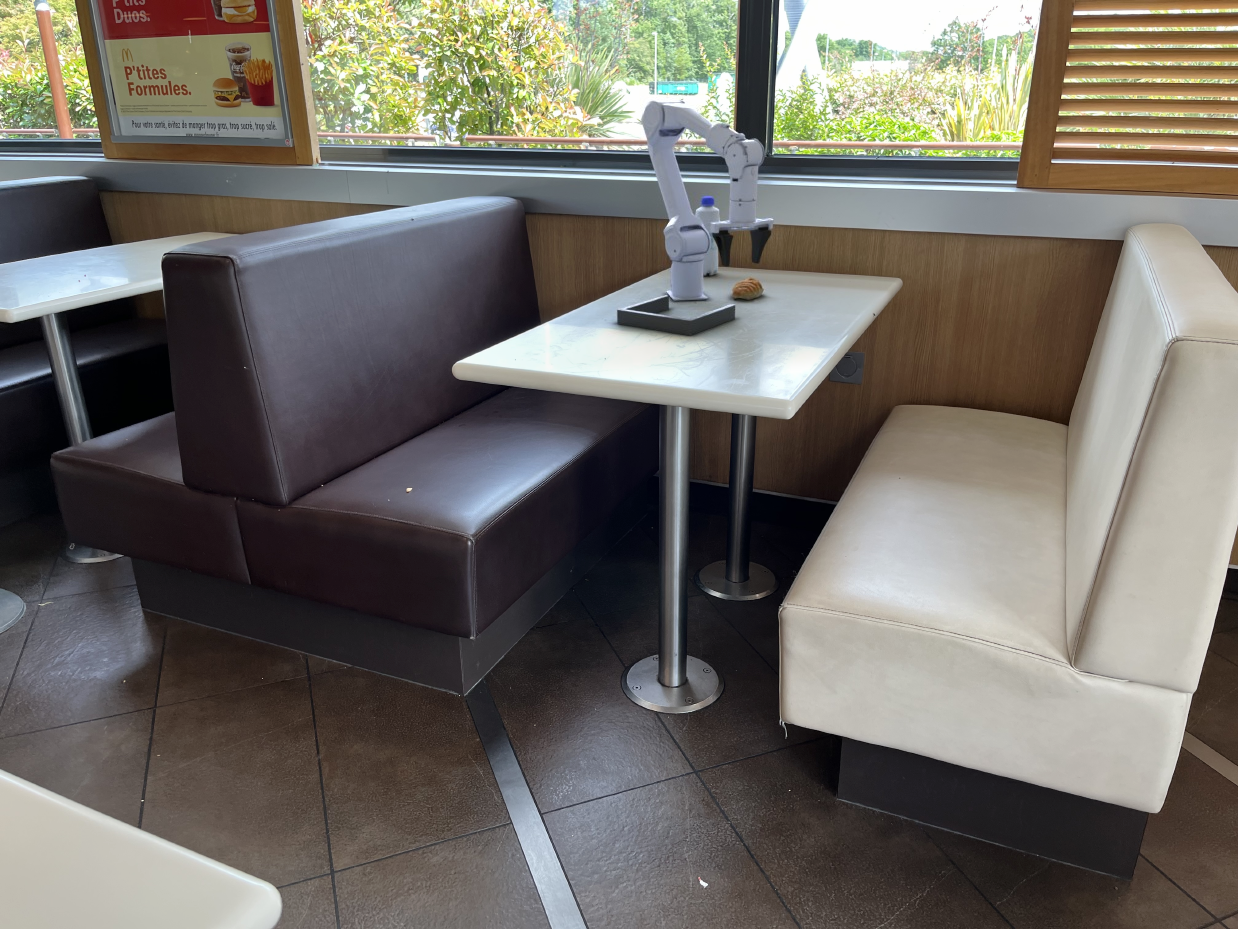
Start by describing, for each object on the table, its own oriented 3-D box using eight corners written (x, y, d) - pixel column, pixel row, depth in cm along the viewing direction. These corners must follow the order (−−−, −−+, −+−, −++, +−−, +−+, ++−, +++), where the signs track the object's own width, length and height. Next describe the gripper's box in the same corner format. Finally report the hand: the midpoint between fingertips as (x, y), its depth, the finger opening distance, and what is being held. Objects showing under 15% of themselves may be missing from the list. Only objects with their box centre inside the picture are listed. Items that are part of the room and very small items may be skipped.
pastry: (754, 302, 205) (754, 285, 203) (725, 300, 207) (726, 283, 206) (764, 294, 213) (765, 277, 211) (737, 292, 215) (737, 276, 214)
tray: (664, 308, 200) (664, 294, 199) (735, 318, 190) (735, 304, 189) (617, 323, 187) (616, 309, 186) (690, 335, 177) (690, 320, 176)
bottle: (716, 276, 234) (719, 197, 226) (691, 276, 235) (693, 197, 228) (720, 272, 240) (722, 194, 232) (695, 271, 241) (697, 194, 234)
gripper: (722, 203, 184) (720, 270, 189) (782, 199, 189) (778, 264, 194) (706, 200, 190) (704, 264, 195) (764, 196, 195) (761, 259, 200)
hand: (740, 264), depth 195 cm, fingers open, 7 cm apart
